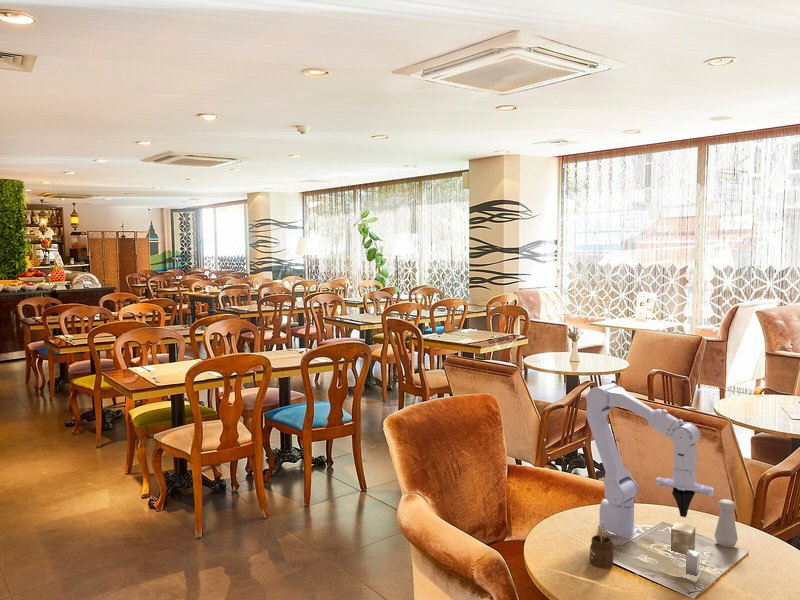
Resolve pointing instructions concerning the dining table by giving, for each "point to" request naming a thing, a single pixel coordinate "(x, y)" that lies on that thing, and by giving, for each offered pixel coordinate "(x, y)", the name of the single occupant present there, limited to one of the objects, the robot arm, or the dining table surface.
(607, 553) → the utensil holder
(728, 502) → the salt shaker
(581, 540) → the dining table surface
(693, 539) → the wood block
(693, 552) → the steel post
